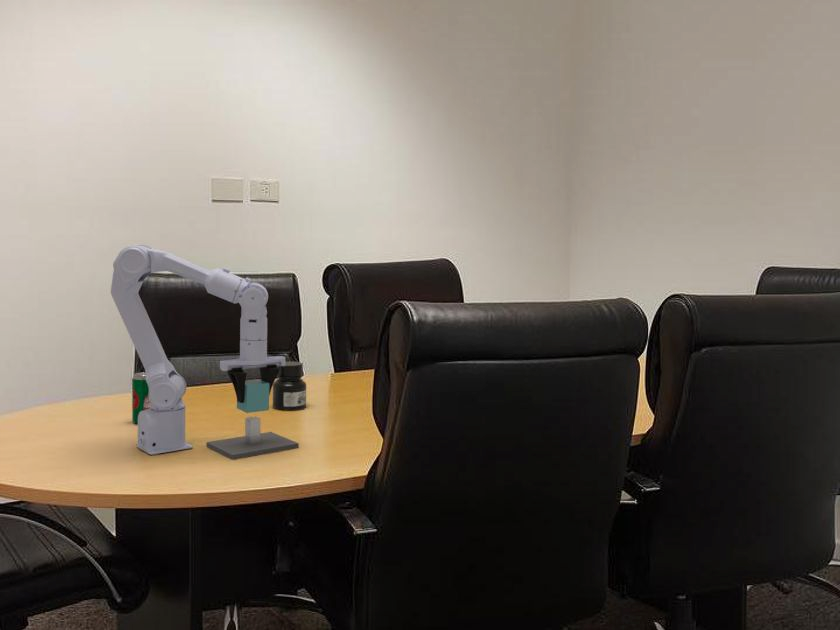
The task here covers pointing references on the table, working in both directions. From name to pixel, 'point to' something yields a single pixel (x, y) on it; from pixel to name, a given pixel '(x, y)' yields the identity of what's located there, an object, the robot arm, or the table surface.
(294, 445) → the pin stand
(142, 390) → the soda can
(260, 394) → the teal square block
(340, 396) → the table surface
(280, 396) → the ink bottle
